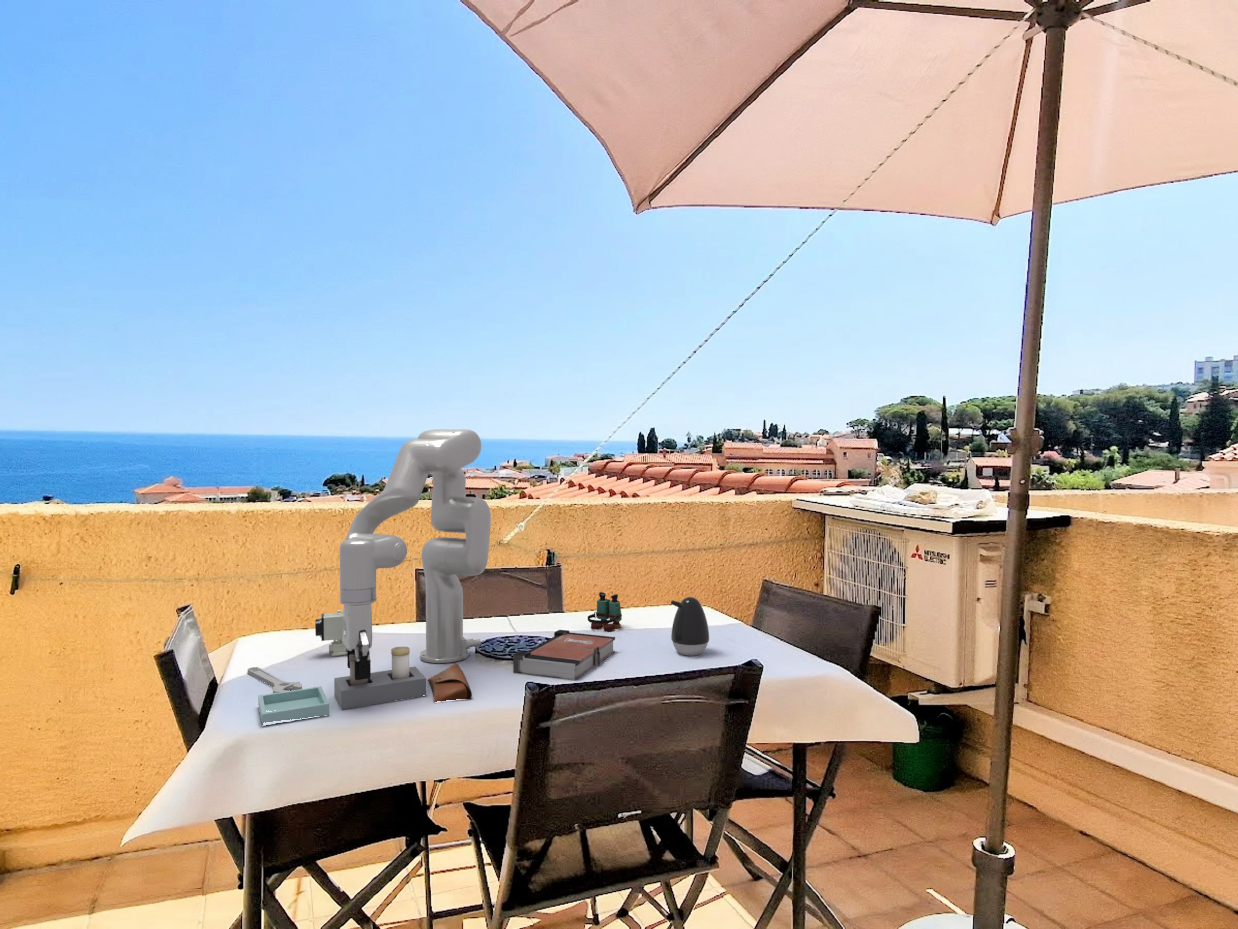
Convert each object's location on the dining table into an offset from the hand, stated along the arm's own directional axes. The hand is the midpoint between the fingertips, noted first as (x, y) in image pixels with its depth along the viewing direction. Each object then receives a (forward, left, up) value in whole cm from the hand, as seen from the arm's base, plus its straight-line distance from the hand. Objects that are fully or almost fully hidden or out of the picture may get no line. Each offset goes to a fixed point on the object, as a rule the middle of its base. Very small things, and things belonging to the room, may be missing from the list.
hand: (358, 672), depth 164 cm
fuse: (-9, 0, -6) cm, 11 cm away
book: (-52, -3, -7) cm, 53 cm away
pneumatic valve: (-2, -39, -6) cm, 40 cm away
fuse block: (-5, 0, -6) cm, 7 cm away
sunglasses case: (-19, +3, -7) cm, 21 cm away
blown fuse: (0, 0, -6) cm, 6 cm away
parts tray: (+13, +1, -6) cm, 15 cm away
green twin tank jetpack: (-77, -29, -6) cm, 82 cm away
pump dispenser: (-85, +5, -6) cm, 85 cm away
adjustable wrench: (+15, -22, -7) cm, 27 cm away
